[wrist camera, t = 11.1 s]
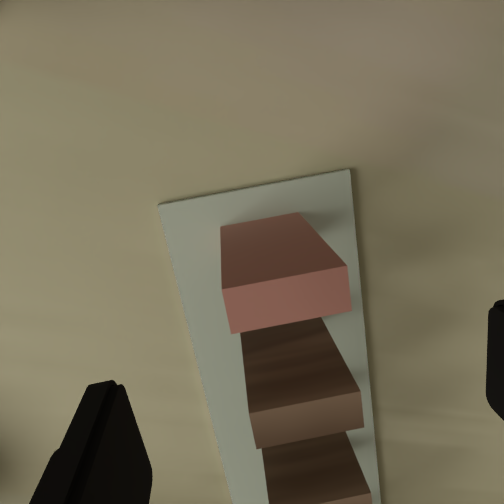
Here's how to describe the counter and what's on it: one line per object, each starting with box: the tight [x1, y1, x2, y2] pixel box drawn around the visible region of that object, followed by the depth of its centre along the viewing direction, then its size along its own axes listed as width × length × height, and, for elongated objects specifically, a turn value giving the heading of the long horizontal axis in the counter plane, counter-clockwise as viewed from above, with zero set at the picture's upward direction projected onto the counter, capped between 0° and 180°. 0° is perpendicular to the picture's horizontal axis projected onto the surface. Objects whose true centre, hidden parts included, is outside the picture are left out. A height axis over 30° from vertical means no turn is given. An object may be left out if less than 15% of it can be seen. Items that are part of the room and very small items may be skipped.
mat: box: [157, 169, 381, 504], centre depth 30 cm, size 32×12×1 cm, turn 10°
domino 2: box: [240, 317, 364, 449], centre depth 22 cm, size 2×5×10 cm, turn 100°
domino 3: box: [261, 431, 372, 504], centre depth 24 cm, size 2×5×10 cm, turn 100°
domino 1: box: [220, 212, 352, 334], centre depth 21 cm, size 2×5×10 cm, turn 100°
